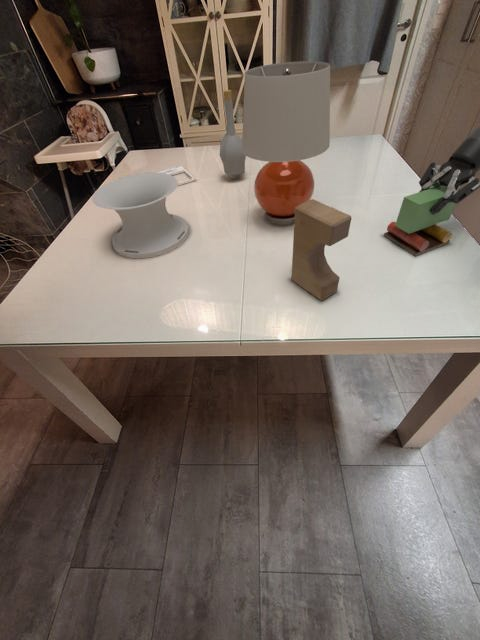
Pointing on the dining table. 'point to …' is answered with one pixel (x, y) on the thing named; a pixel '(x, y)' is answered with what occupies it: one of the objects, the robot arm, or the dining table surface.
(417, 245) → the rod rack
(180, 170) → the photo frame
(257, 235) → the dining table surface
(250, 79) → the lamp
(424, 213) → the bar
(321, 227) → the decorative block
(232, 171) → the bottle
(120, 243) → the vase
